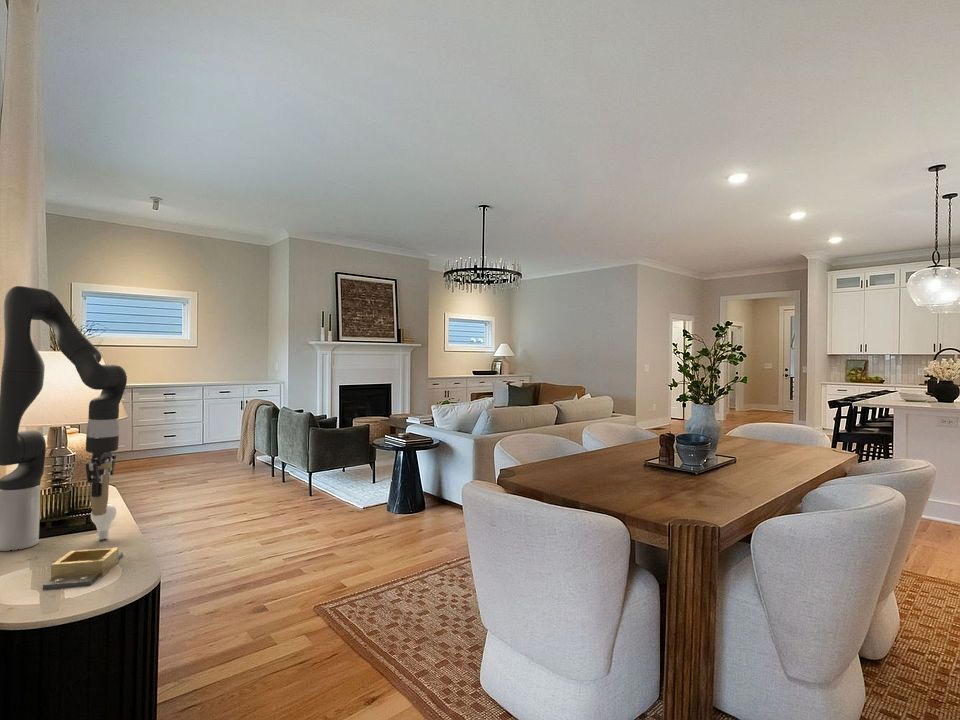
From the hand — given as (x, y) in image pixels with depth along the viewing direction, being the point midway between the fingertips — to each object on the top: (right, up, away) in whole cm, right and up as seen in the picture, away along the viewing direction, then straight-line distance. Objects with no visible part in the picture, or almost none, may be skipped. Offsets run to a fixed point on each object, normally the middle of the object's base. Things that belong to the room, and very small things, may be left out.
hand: (99, 494), depth 146 cm
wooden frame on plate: (+7, -16, -14) cm, 22 cm away
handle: (0, -6, 0) cm, 6 cm away
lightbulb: (-6, -17, +9) cm, 20 cm away
